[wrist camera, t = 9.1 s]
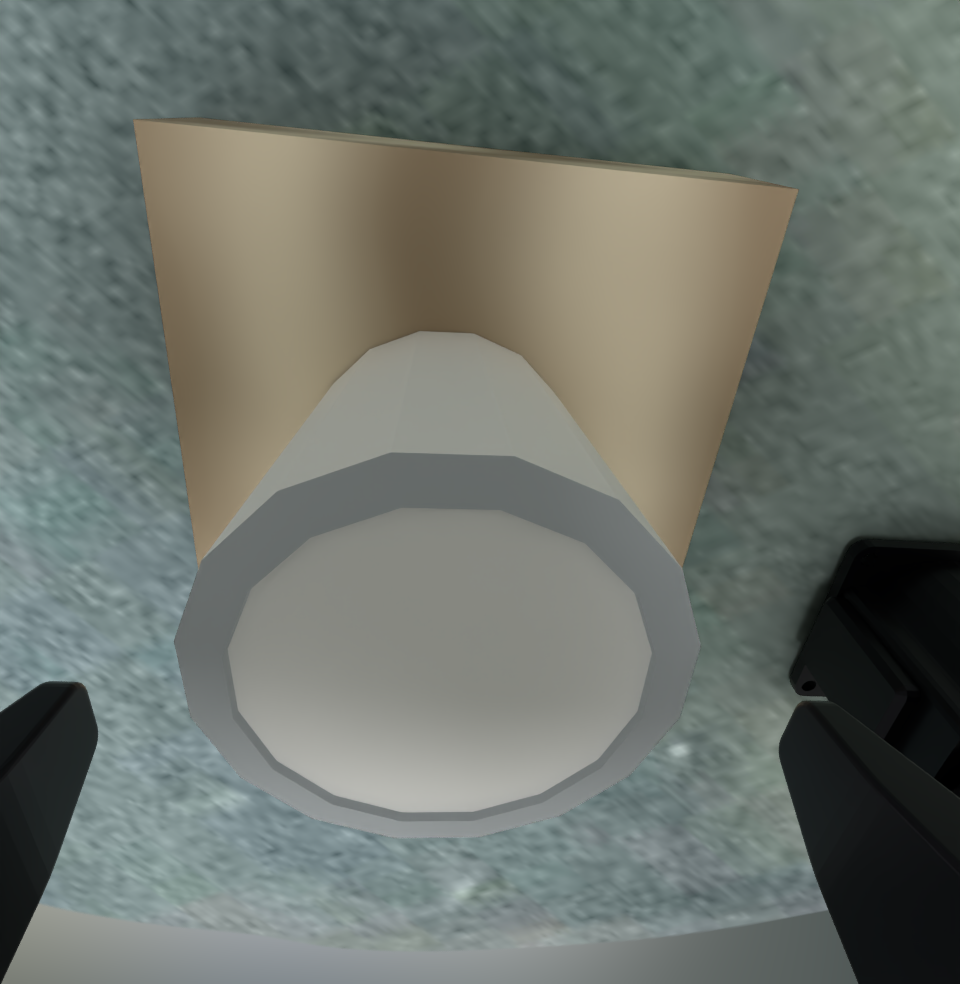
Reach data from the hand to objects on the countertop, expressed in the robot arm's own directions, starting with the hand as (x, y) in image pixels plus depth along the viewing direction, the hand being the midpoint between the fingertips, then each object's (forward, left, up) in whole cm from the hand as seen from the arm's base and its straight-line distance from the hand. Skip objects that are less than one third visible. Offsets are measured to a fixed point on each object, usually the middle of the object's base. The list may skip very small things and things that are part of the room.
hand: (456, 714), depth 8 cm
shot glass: (0, 0, -8) cm, 8 cm away
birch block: (0, 0, -11) cm, 11 cm away
